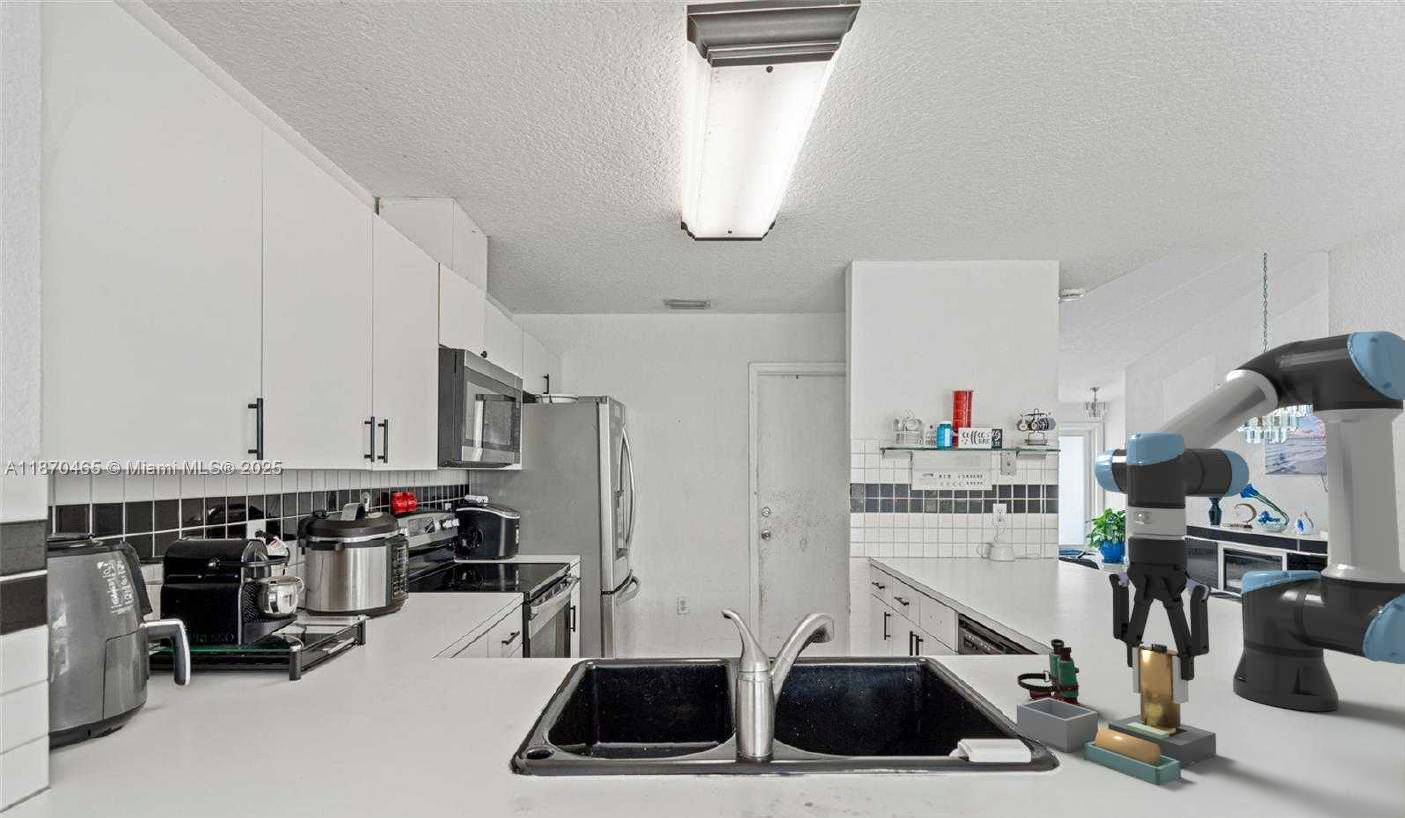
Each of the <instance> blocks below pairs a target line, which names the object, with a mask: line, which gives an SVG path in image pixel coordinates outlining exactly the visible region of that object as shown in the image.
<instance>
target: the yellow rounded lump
mask: <svg viewBox="0 0 1405 818" xmlns="http://www.w3.org/2000/svg"><path fill="white" fill-rule="evenodd" d="M1147 726H1150V727H1153V728H1157V729H1160V730H1163V731H1167V732H1169V736H1170V737H1171V736H1174V735H1176V728H1166V727H1159V726H1155V725H1151V724H1148V723H1147Z"/></svg>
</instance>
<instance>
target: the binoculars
mask: <svg viewBox="0 0 1405 818" xmlns="http://www.w3.org/2000/svg"><path fill="white" fill-rule="evenodd" d="M1050 643H1051V647H1052V650H1053V651H1049V652H1048V658H1049V671H1048V670H1045V669H1044V670H1043V671H1042V672H1037V673H1036V672H1026V673H1021V674H1020V675H1017V677H1016V678H1017V679H1016V680H1017V685H1018V686H1019V687H1021V688H1023V689H1025V690H1027V691H1028V692H1029V698H1030V697H1031V698H1032V699H1034V700H1035V701H1036V700H1040V699H1044V698H1052V699H1055V700H1058V701H1062V702H1065V703H1068V704H1072V705H1075V706H1079V707H1081V702H1080V701H1079V702H1078V697H1079V695H1080V693H1079V688H1080V685H1079V682H1078V679H1077V674H1079V673H1080V668H1079V667H1077V666H1075V662H1074V661H1075V660H1074V659H1073V658H1072V657H1071V654H1072V647H1071V646H1070V647H1069V646H1065V642H1064V640H1062V639H1061V638H1060V639H1059V638H1054V639H1051V640H1050ZM1047 673H1048V676H1047ZM1047 677H1048V679H1049V680H1047ZM1024 680H1043V681H1044V683H1046V684H1047V683H1049V682H1051V685H1036V684H1030V683H1027V682H1024ZM1052 693H1053V694H1052ZM1031 698H1030V699H1031ZM1032 699H1031V700H1032ZM1034 700H1033V701H1034Z"/></svg>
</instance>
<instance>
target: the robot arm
mask: <svg viewBox="0 0 1405 818" xmlns="http://www.w3.org/2000/svg"><path fill="white" fill-rule="evenodd" d="M1404 401H1405V339H1404V338H1403V337H1401V336H1400V335H1399V334H1397V333H1393V332H1391V331H1386V330H1376V331H1373V330H1372V331H1360V332H1359V331H1358V332H1356V331H1355V332H1352V333H1347V334H1346V333H1345V334H1339V335H1334V336H1327V337H1326V336H1325V337H1320V338H1314V339H1307V340H1297V341H1291V342H1287V343H1284V344H1282V345H1279V346H1277V347H1274V348H1272V349H1269V350H1267V351H1265V352H1263V353H1260V354H1259V355H1257V356H1255V357H1253V358H1252V359H1250V360H1248V361H1247V362H1244V363H1243V364H1241V365H1240V366H1238V367H1236V369H1233V370H1232V371H1231V372H1229V373H1228V374H1226V375H1225V376H1224V378H1223V379H1222V381H1221V384H1220V386H1219V387H1217V388H1216V389H1214V390H1212V391H1211V392H1210V393H1208V394H1206V395H1204V396H1203V397H1202V398H1201V399H1199V400H1197V401H1196V402H1195V403H1193V404H1191V405H1190V406H1189V407H1187V408H1185V409H1184V410H1182V411H1181V412H1180V413H1178V414H1177V415H1175V416H1173V417H1172V418H1171V419H1169V420H1167V421H1166V422H1164V423H1163V424H1161V425H1160V426H1159V427H1157V428H1156V429H1154V430H1153V431H1151V432H1145V433H1143V432H1142V433H1141V432H1140V433H1133V434H1131V435H1130V436H1129V437H1128V438H1127V440H1126V448H1124V449H1121V448H1115V449H1111V450H1108V449H1107V450H1105V451H1103V452H1102V453H1101V454H1099V455H1098V457H1096V460H1095V463H1094V476H1095V478H1096V481H1097V483H1098V485H1099V487H1101V488H1102V489H1104V490H1105V491H1107V492H1111V493H1117V494H1119V493H1120V494H1123V495H1127V532H1129V533H1130V534H1132V536H1129V538H1127V553H1128V554H1127V557H1128V561H1129V564H1128V567H1127V569H1126V571H1124V572H1117V573H1110V574H1109V575H1108V580H1109V583H1110V585H1111V588H1112V633H1113V634H1112V637H1113V638H1114V639H1115V640H1119V641H1122V643H1124V644H1125V646H1126V659H1127V660H1126V664H1127V666H1128V668H1132V690H1133V691H1132V692H1133V693H1136V694H1140V648H1141V647H1147V646H1145V645H1143V644H1144V643H1145V641H1143V638H1144V634H1145V630H1146V626H1147V621H1148V618H1149V613H1150V609H1151V606H1152V604H1153V603H1154V601H1155V600H1156V601H1159V602H1162V607H1163V608H1164V609H1165V611H1166V614H1167V615H1166V616H1167V618H1168V622H1169V625H1170V628H1171V632H1172V637H1173V640H1174V643H1175V646H1176V652H1178V654H1176V656H1172V660H1173V701H1174V703H1177V704H1180V705H1182V704H1185V703H1188V702H1190V700H1189V696H1190V695H1189V681H1193V680H1194V679H1195V658H1196V657H1199V656H1204V655H1208V654H1209V653H1210V637H1209V634H1210V633H1209V615H1208V614H1209V610H1208V609H1209V608H1208V606H1209V605H1208V601H1209V598H1210V595H1211V593H1212V587H1211V585H1209V584H1206V583H1205V584H1201V583H1199V582H1197V581H1195V580H1192V578H1191V576H1190V574H1189V572H1188V569H1187V567H1188V541H1186V540H1185V539H1183V537H1185V536H1187V535H1188V532H1187V529H1188V528H1187V510H1186V508H1187V505H1186V504H1187V502H1186V501H1187V497H1188V498H1189V497H1190V498H1191V497H1192V498H1212V499H1213V498H1214V499H1216V498H1217V499H1223V498H1228V497H1229V498H1230V497H1235V496H1237V495H1239V494H1241V493H1242V492H1243V491H1244V490H1245V489H1246V487H1247V485H1248V483H1249V481H1250V470H1249V466H1248V463H1247V462H1246V460H1245V459H1244V458H1243V456H1241V454H1239V453H1237V451H1233V450H1230V449H1222V448H1219V447H1217V448H1212V447H1213V446H1214V445H1215V444H1218V443H1219V442H1220V441H1222V440H1223V439H1224V438H1226V437H1227V436H1229V435H1230V434H1231V433H1233V432H1235V431H1237V429H1239V428H1240V427H1242V426H1244V424H1246V423H1248V422H1250V421H1251V419H1254V418H1262V417H1266V416H1267V415H1270V414H1271V413H1273V412H1275V411H1276V410H1280V409H1283V408H1289V407H1298V406H1312V415H1314V416H1315V417H1316V418H1318V419H1319V420H1320V421H1322V422H1323V424H1324V438H1325V440H1324V441H1325V457H1326V458H1325V459H1326V475H1327V476H1326V477H1327V479H1326V481H1327V495H1328V499H1327V500H1328V518H1329V519H1328V520H1329V539H1330V541H1329V542H1330V556H1331V557H1330V559H1331V560H1330V562H1331V563H1330V564H1329V565H1327V566H1326V567H1325V568H1324V569H1322V570H1321V571H1320V572H1319V571H1317V570H1287V569H1285V570H1250V571H1247V572H1246V573H1244V574H1243V575H1242V578H1241V591H1240V597H1241V615H1242V617H1241V618H1242V641H1243V644H1242V645H1243V647H1242V648H1243V650H1242V653H1241V656H1240V658H1239V661H1238V663H1237V666H1236V669H1235V672H1234V675H1233V677H1232V687H1233V688H1232V689H1233V690H1232V691H1233V692H1234V693H1235V694H1237V695H1238V696H1240V697H1243V698H1246V699H1248V700H1252V701H1254V702H1257V703H1261V704H1266V705H1270V706H1274V707H1279V708H1284V709H1285V708H1286V709H1292V710H1299V711H1309V712H1332V711H1336V710H1338V709H1339V708H1340V704H1339V694H1338V691H1337V688H1336V686H1335V684H1334V682H1333V678H1332V677H1331V674H1330V672H1329V670H1328V667H1327V665H1326V662H1325V657H1324V656H1325V655H1324V653H1325V651H1324V650H1328V651H1332V652H1333V651H1334V652H1337V653H1343V654H1345V655H1350V656H1356V657H1360V658H1364V659H1367V660H1370V661H1372V662H1384V663H1389V664H1395V665H1405V571H1403V569H1402V568H1401V563H1400V562H1401V561H1400V545H1399V543H1400V542H1399V526H1398V525H1399V524H1398V508H1397V493H1396V492H1397V490H1396V489H1397V487H1396V474H1395V473H1396V472H1395V455H1394V454H1395V453H1394V452H1395V451H1394V435H1393V422H1394V420H1396V419H1397V418H1398V417H1399V416H1400V415H1402V414H1403V413H1404V411H1405V410H1404V409H1405V408H1404ZM1131 583H1132V585H1133V587H1134V588H1135V592H1134V596H1133V608H1132V611H1131V614H1130V588H1129V586H1130V584H1131ZM1186 589H1188V593H1187V594H1188V595H1189V597H1190V598H1189V599H1190V600H1189V614H1190V615H1189V616H1190V627H1189V624H1188V621H1187V617H1186V614H1185V610H1184V605H1185V604H1184V600H1183V595H1182V593H1184V591H1185V590H1186ZM1130 615H1131V616H1130Z"/></svg>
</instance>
